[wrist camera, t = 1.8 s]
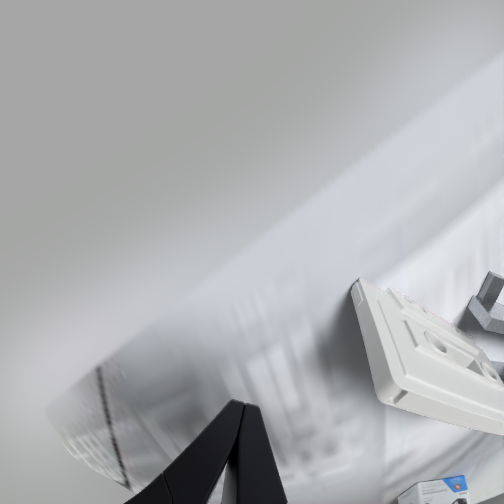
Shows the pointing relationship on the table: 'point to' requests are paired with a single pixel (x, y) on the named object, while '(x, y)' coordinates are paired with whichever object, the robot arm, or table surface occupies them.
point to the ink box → (437, 492)
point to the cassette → (427, 362)
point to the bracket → (490, 310)
